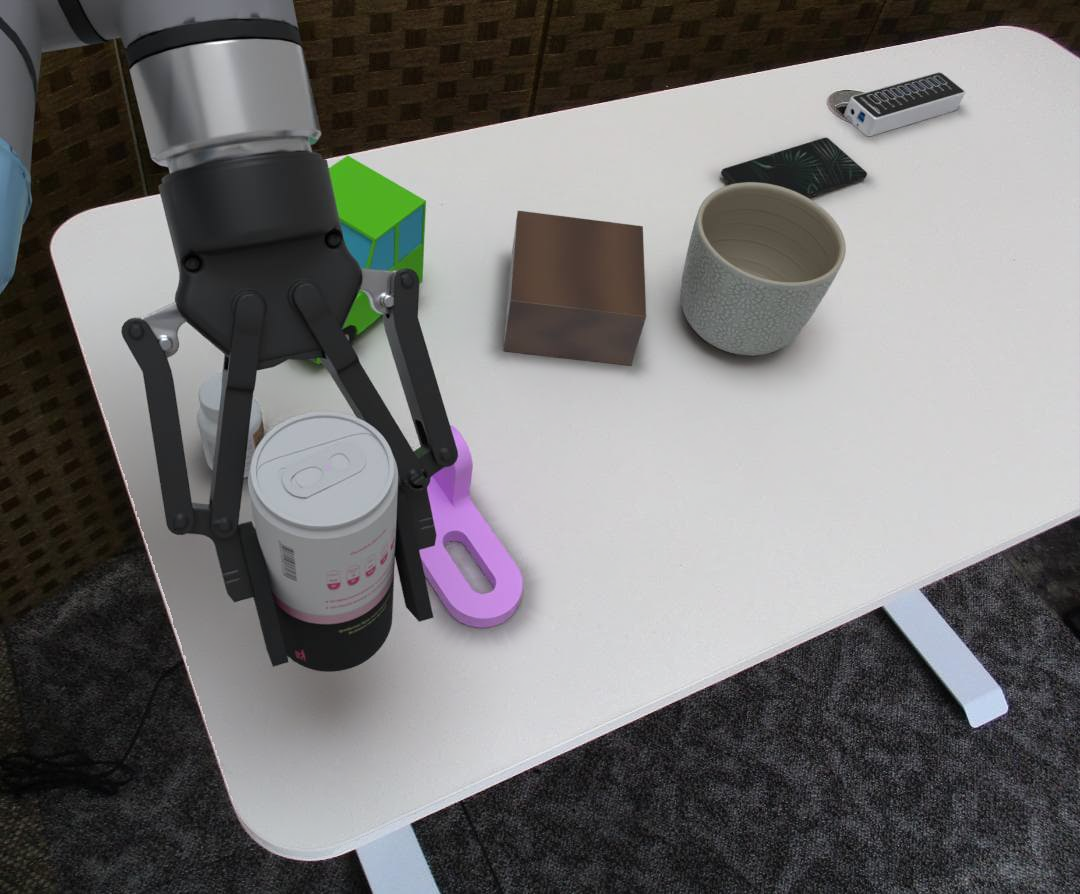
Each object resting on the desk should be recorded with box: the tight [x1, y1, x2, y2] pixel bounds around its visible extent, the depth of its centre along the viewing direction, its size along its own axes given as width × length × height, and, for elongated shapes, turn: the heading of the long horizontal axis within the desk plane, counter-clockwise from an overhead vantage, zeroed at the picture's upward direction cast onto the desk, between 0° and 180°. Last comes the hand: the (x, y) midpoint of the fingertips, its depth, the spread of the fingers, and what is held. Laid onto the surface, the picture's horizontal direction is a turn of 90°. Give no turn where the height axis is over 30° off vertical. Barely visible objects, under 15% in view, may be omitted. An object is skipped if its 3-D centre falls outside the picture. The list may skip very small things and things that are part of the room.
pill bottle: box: [196, 372, 266, 479], centre depth 71 cm, size 4×4×8 cm
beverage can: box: [247, 411, 398, 673], centre depth 50 cm, size 6×7×15 cm
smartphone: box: [720, 137, 868, 199], centre depth 103 cm, size 7×1×15 cm
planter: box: [680, 182, 847, 356], centre depth 85 cm, size 12×12×11 cm
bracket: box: [419, 424, 524, 629], centre depth 69 cm, size 13×6×7 cm, turn 33°
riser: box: [502, 210, 647, 366], centre depth 85 cm, size 11×11×6 cm
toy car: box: [309, 155, 427, 365], centre depth 80 cm, size 10×13×10 cm
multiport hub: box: [843, 71, 966, 137], centre depth 112 cm, size 4×14×2 cm, turn 121°
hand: (349, 632), depth 50 cm, fingers closed on beverage can, 6 cm apart
